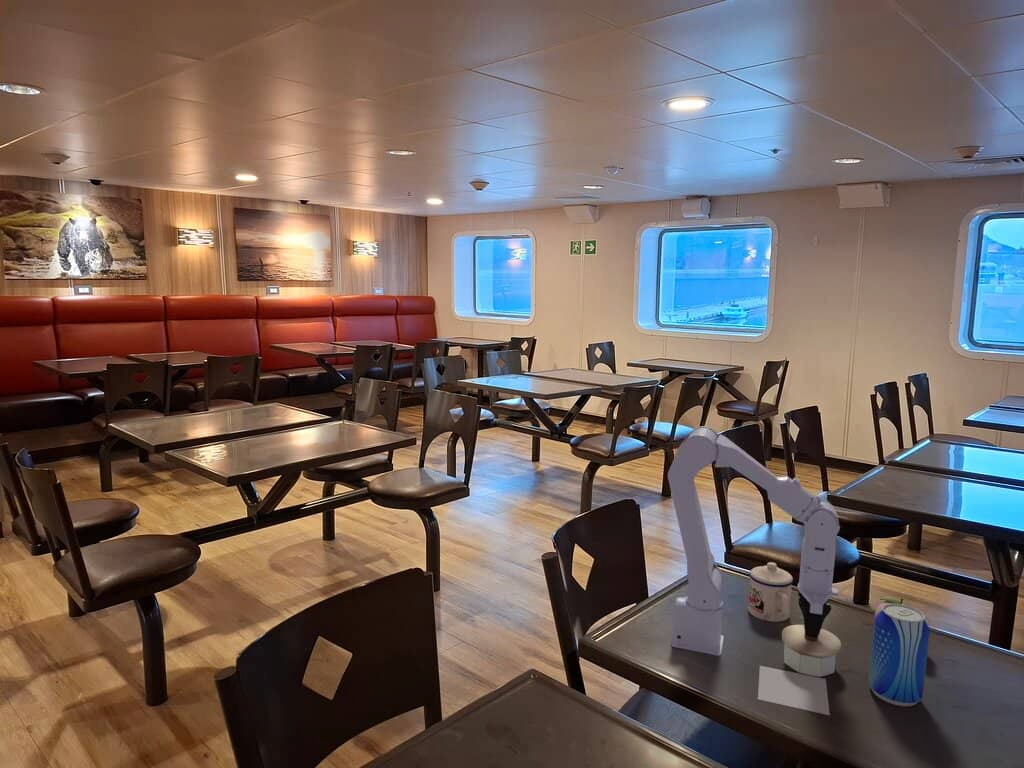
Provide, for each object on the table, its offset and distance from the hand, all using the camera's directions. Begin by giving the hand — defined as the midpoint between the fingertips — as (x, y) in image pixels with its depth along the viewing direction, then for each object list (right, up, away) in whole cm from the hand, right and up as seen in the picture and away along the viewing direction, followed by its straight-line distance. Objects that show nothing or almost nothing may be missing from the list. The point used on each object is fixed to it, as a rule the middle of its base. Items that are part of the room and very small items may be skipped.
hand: (811, 632), depth 132 cm
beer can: (+11, -8, -9) cm, 16 cm away
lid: (0, -2, 0) cm, 2 cm away
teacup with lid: (0, -4, +20) cm, 20 cm away
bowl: (0, -7, +1) cm, 7 cm away
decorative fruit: (+21, -6, +9) cm, 24 cm away
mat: (-7, -8, -8) cm, 13 cm away
